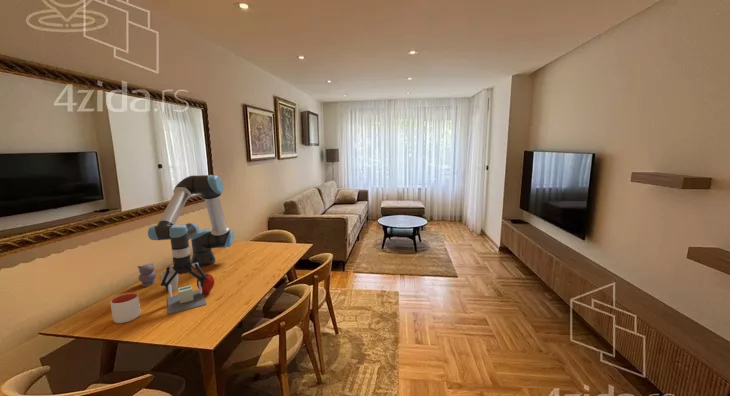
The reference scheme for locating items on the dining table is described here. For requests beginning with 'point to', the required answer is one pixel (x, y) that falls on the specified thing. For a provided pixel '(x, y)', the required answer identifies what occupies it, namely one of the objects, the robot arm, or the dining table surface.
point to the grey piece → (176, 307)
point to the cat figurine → (147, 274)
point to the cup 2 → (174, 282)
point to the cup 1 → (125, 308)
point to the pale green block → (185, 294)
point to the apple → (207, 284)
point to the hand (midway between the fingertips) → (186, 294)
